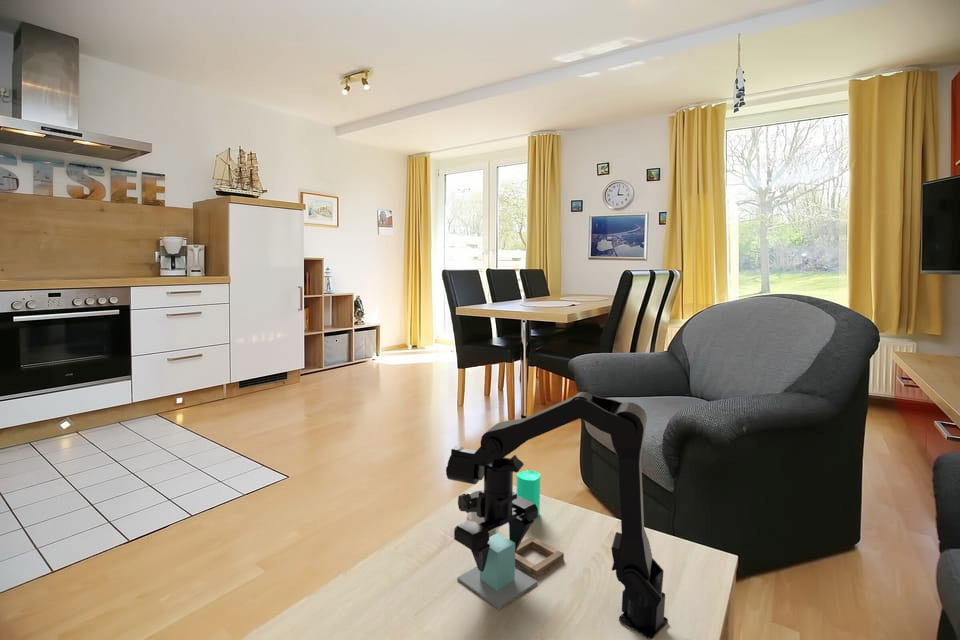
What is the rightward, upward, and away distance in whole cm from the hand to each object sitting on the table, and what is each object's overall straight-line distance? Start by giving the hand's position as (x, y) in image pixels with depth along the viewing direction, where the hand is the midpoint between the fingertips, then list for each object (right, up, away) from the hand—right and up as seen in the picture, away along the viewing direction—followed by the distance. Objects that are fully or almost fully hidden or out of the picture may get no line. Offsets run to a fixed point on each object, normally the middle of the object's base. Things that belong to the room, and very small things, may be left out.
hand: (497, 561), depth 101 cm
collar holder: (+8, -4, +8) cm, 12 cm away
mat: (0, -5, +1) cm, 4 cm away
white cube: (-3, -2, +25) cm, 25 cm away
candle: (+9, -1, +28) cm, 29 cm away
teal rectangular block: (0, -4, +1) cm, 4 cm away
